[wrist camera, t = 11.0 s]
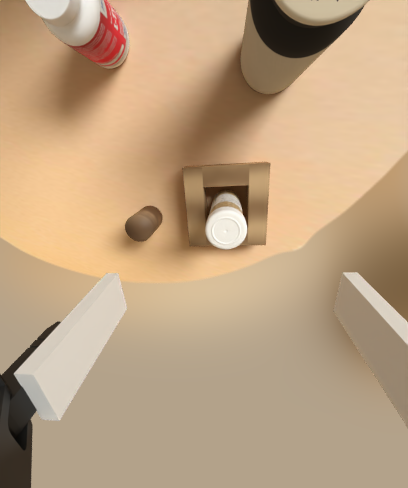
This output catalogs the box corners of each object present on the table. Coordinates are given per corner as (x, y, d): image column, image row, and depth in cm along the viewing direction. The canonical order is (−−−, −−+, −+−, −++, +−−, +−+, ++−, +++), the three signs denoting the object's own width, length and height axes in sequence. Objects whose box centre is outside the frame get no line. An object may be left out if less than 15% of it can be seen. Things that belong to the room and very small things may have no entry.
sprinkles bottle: (228, 221, 37) (228, 258, 25) (206, 205, 36) (196, 234, 24) (246, 200, 35) (256, 228, 23) (224, 182, 35) (222, 201, 22)
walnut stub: (137, 206, 37) (122, 216, 32) (160, 205, 37) (149, 215, 32) (141, 228, 39) (128, 241, 34) (163, 227, 39) (153, 241, 33)
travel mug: (290, 101, 29) (370, 43, 13) (232, 86, 29) (240, 9, 13) (316, 24, 26) (465, -182, 10) (251, 7, 26) (292, -228, 10)
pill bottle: (140, 43, 29) (93, -13, 18) (110, 81, 31) (53, 48, 20) (104, -6, 27) (31, -96, 17) (75, 37, 29) (-5, -21, 19)
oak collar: (186, 166, 34) (182, 168, 31) (266, 161, 33) (270, 163, 30) (192, 238, 39) (189, 246, 36) (262, 236, 37) (265, 245, 34)
